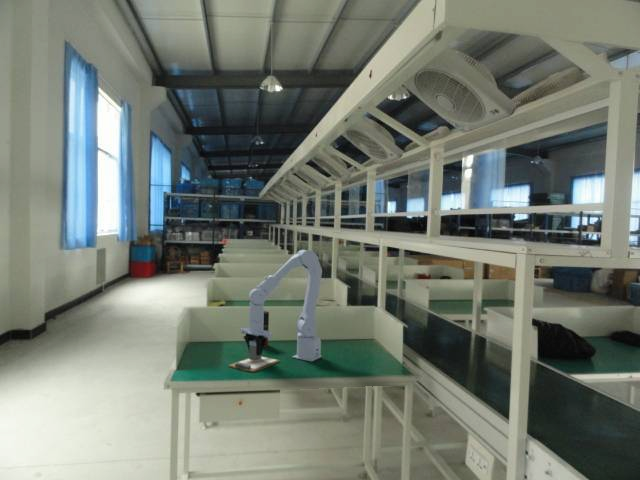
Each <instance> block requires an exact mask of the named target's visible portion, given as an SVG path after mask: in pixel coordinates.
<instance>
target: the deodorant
mask: <svg viewBox="0 0 640 480" xmlns="http://www.w3.org/2000/svg"><path fill="white" fill-rule="evenodd" d="M269 316H270V312H269V311H266V310H264V323H263V330H265V331H268V332H269V325H270V323H269V321H270V320H269V318H270V317H269ZM257 337H259V336H256V338H257ZM266 346H267V347H268V346H269V338H268V339H267V341H266V343H265V345H264V347H263V348H266Z"/></svg>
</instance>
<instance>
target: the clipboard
mask: <svg viewBox="0 0 640 480" xmlns="http://www.w3.org/2000/svg"><path fill="white" fill-rule="evenodd" d="M280 362H281V360H280V359H276V358H270V357H266V356H262V355H261V359H258V360H252V359H249V357H247V358H243V359H242V360H239V361H236V362H234V363H231V364H229V365H228V367H229V368H232V369H236V370H241V371H245V372H249V373H257V372H259V371H262V370H264V369H266V368H268V367H270V366H273V365H275V364H278V363H280Z"/></svg>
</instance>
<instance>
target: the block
mask: <svg viewBox="0 0 640 480" xmlns="http://www.w3.org/2000/svg"><path fill="white" fill-rule="evenodd" d="M261 356H262V354H261V355H257V345H256V340H251V341H249V350H248V358H249V359H252V360H258V359H261Z"/></svg>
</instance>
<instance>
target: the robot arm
mask: <svg viewBox="0 0 640 480" xmlns="http://www.w3.org/2000/svg"><path fill="white" fill-rule="evenodd" d="M301 267H304V268H305V270H306V271H307V272H308V279H307V285H306V289H305V294H304V295H305V296H304V300H303V301H304V302H303V308H302V311H301V313H300V315H299V318H298V320H297V321H296V324H295V325H296V329H297V331H298V332H297V334H296V335H297V337H296V354H295V355H293V356H292V358H294V359H298V360H303V361H306V362H307V361H308V362H314V361H316V360H318V359H320V358H322V357H323V355H321V354H322V351H321V350H322V341H321V339H320V338H319V337H317V336H316V333H317V330H318V329H317V324H316V322H317V317H316V308H317V303H318V297H319V292H320V286H321V281H322V274H323V269H322V266H321V263H320V261H319V256H318V255H317V254H316V253H315V252H314V251H313V250H311V249H299V250H298V251H297V253H295V254H293V255H292V256H291V257H290V258H289V259H288V260H287V261H286V262H285V263H284V264H283V265H282V266H281V267H280V268H279V269H278V270H277V271H276V272H275V273H274V274H270V275H269V274H268V275H265V276H264V277H263V281H261V282H260V283H259V284H258V285H255V288H252V289H251V290H250V291H249V294H248V296H247V297H248V300H249V308H248V309H249V310H248V311H249V312H248V328H247V327H241V328H239V329H240V331H239V332H240V333H239V334H240V335H241V334H245V335H244V336H243V339H244V341H245V343H246V345H247V349H248V351H249V341H251V340H256V345H257V355H261V356H262V354H263V352H264V351H263V350H264V348H265V347H264V345H265V343H266V341H267V339H268V340H269V339H272V338H273V332H270V331H269V330H268V331H265V330H263V323H264V311H265V308H264V305H265V304H264V303H266V300H267V299H266V298H267V297H269V296H270V295H271V294H272V293H273V292H274V291H275V290H276V289H277V288H278V287H279V286H280V281H281V280H282V279H283V278H285V277H286V275H288V274H289V273H290V272H292V271H293V270H294V269H296V268H301ZM256 336H259V337H257V338H256Z"/></svg>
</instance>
